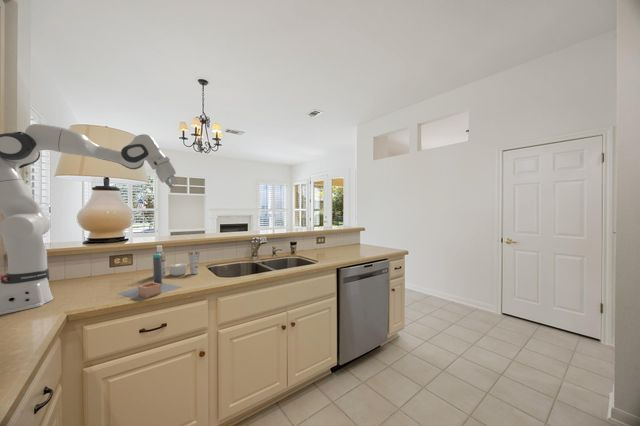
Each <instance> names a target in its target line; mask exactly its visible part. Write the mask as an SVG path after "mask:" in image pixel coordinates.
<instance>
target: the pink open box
mask: <svg viewBox="0 0 640 426" xmlns="http://www.w3.org/2000/svg"><path fill="white" fill-rule="evenodd" d="M137 288H138V296H141V297H145V298H146V299H148V297H149V298H152V297H155V296H159V295H162V294H161V284H159V283H154V281H152V282H148V283H145V284H140V285H138V286H137ZM154 295H155V296H154ZM151 296H152V297H151Z"/></svg>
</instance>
